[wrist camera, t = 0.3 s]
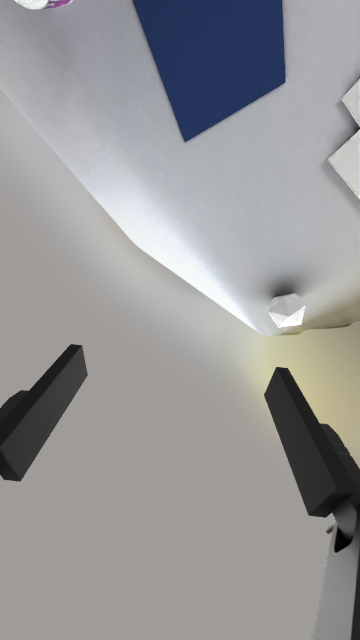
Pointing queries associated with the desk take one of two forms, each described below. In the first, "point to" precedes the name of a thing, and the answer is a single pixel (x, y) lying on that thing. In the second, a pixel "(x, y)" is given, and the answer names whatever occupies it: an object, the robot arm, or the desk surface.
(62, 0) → the pill bottle
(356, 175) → the paper stack
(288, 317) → the die
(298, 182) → the desk surface
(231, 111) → the cloth
